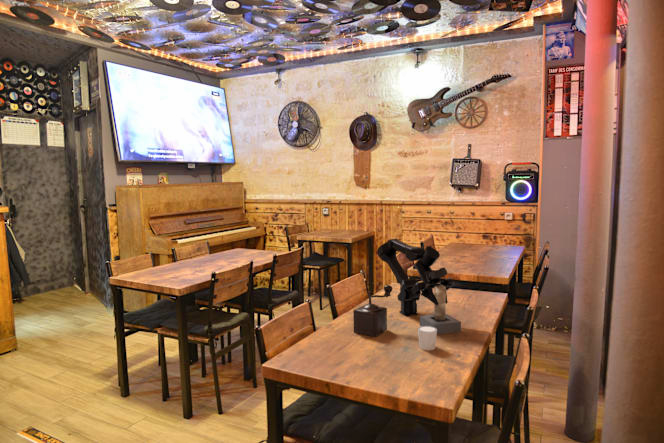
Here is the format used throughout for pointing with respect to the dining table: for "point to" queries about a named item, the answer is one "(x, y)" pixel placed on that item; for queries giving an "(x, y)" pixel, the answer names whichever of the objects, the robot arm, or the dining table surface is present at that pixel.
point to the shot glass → (427, 337)
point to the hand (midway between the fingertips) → (442, 304)
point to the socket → (441, 324)
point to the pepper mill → (371, 316)
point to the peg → (440, 302)
